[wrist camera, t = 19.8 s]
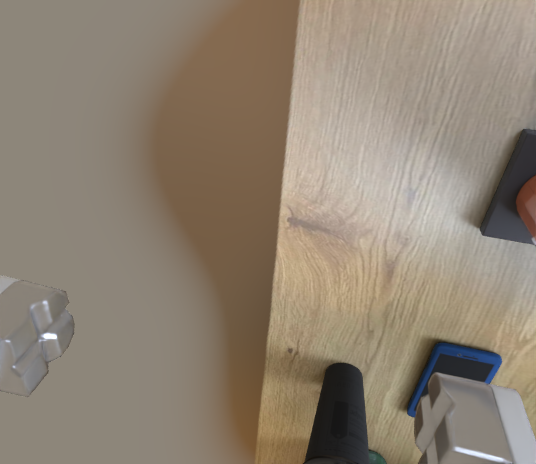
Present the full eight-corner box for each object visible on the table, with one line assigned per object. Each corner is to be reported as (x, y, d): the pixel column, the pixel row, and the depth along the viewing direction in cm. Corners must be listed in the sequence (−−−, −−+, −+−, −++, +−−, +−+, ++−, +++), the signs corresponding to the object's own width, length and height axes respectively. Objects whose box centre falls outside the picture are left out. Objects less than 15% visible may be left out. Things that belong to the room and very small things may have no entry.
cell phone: (405, 411, 56) (405, 416, 55) (436, 340, 48) (437, 344, 47) (462, 424, 55) (463, 429, 54) (503, 353, 47) (505, 359, 46)
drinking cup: (302, 369, 56) (273, 539, 39) (345, 346, 52) (333, 524, 35) (341, 401, 58) (329, 575, 41) (386, 381, 54) (391, 565, 37)
